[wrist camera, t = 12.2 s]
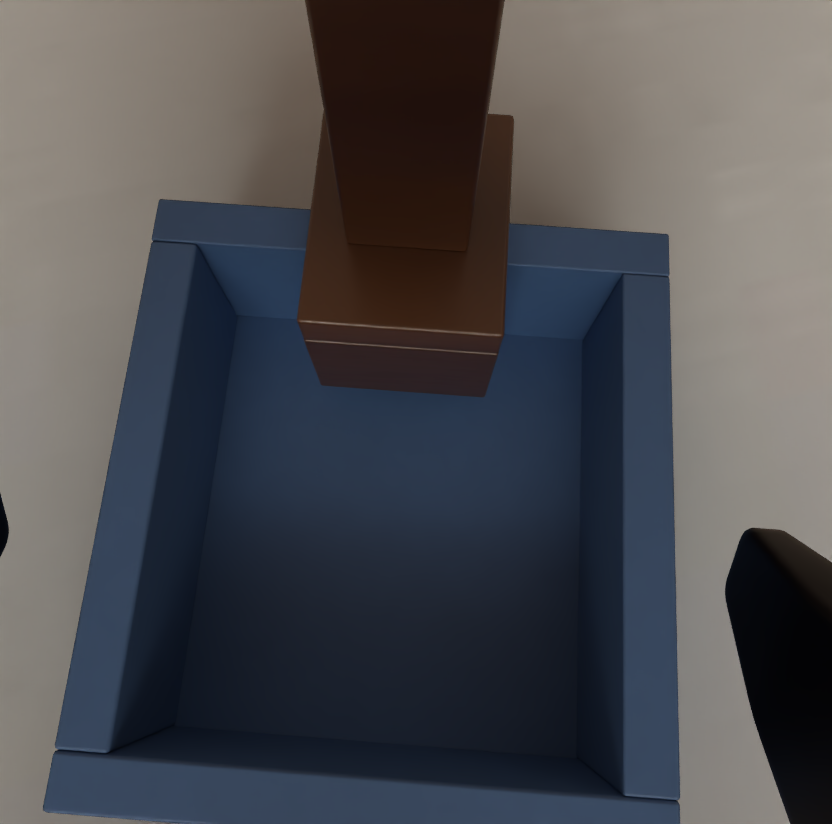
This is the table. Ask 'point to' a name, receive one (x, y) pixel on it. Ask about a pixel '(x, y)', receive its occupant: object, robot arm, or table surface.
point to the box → (381, 555)
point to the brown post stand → (407, 197)
